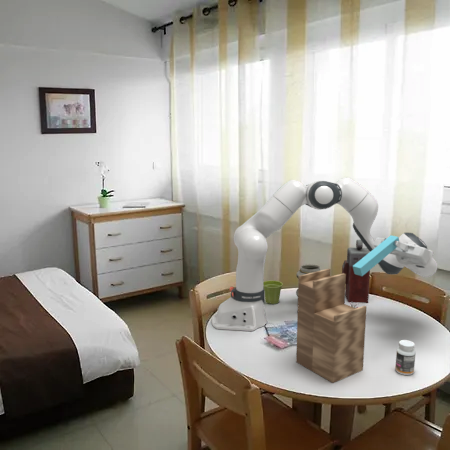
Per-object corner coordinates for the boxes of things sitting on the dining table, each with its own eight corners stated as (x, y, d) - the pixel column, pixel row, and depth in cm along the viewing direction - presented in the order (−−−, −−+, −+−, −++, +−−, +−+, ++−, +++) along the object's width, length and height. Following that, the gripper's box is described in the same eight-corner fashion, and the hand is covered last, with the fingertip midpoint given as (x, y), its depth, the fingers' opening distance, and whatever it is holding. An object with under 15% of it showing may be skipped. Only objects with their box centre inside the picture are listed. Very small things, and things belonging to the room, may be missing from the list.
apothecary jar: (290, 303, 215) (291, 264, 211) (312, 298, 220) (313, 261, 216) (306, 312, 204) (307, 272, 200) (328, 307, 209) (330, 268, 206)
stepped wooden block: (332, 383, 148) (337, 289, 142) (296, 362, 161) (298, 275, 155) (362, 370, 156) (368, 281, 149) (325, 351, 169) (328, 268, 163)
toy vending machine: (340, 295, 224) (342, 237, 219) (364, 296, 223) (367, 237, 218) (342, 302, 216) (345, 241, 210) (368, 302, 214) (371, 242, 209)
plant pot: (268, 307, 210) (269, 288, 208) (257, 300, 218) (257, 282, 217) (286, 303, 214) (286, 285, 213) (274, 297, 223) (275, 279, 221)
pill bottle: (392, 367, 157) (394, 339, 155) (408, 366, 158) (411, 338, 156) (399, 376, 152) (402, 347, 150) (417, 375, 152) (419, 346, 150)
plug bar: (362, 276, 158) (360, 268, 157) (354, 273, 160) (352, 266, 159) (400, 244, 167) (398, 236, 166) (392, 242, 170) (390, 235, 168)
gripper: (388, 241, 183) (368, 228, 175) (438, 252, 166) (419, 238, 158) (382, 256, 182) (362, 244, 174) (431, 269, 166) (412, 256, 158)
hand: (389, 241), depth 166 cm, fingers closed on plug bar, 3 cm apart
